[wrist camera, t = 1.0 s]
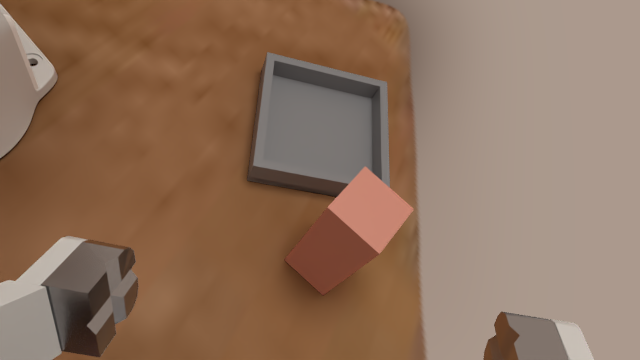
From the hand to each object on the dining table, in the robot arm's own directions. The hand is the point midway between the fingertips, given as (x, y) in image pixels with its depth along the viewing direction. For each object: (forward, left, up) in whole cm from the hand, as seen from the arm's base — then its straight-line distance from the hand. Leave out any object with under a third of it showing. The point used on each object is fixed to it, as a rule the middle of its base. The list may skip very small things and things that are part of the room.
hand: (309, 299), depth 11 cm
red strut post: (-4, +14, -29) cm, 33 cm away
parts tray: (-15, +21, -29) cm, 39 cm away
